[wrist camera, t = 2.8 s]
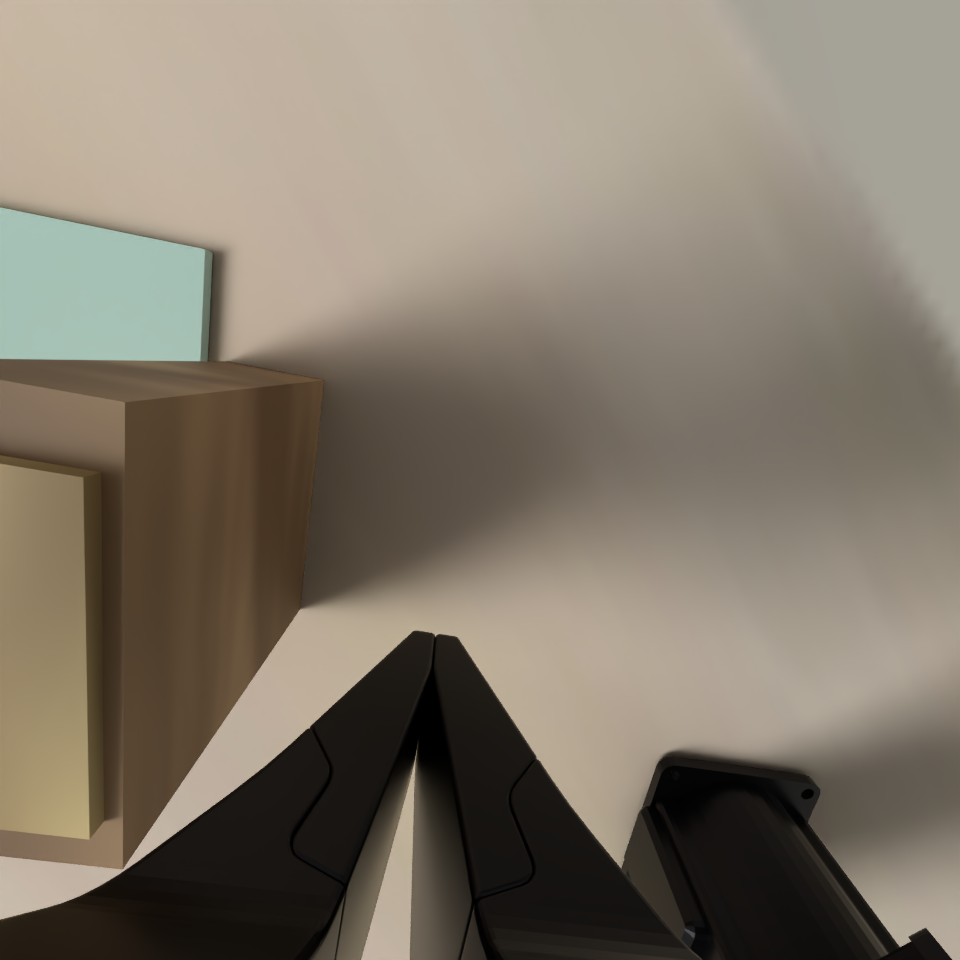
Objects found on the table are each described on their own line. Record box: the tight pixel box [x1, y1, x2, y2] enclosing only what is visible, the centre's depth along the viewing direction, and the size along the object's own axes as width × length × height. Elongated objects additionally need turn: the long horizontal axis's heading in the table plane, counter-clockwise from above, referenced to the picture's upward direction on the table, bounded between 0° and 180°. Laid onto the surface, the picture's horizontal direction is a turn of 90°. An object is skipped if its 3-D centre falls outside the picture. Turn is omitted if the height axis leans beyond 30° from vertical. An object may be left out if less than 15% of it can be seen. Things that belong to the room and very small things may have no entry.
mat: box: [0, 207, 213, 361], centre depth 14 cm, size 9×14×1 cm, turn 169°
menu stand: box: [0, 359, 324, 869], centre depth 11 cm, size 3×8×9 cm, turn 169°
